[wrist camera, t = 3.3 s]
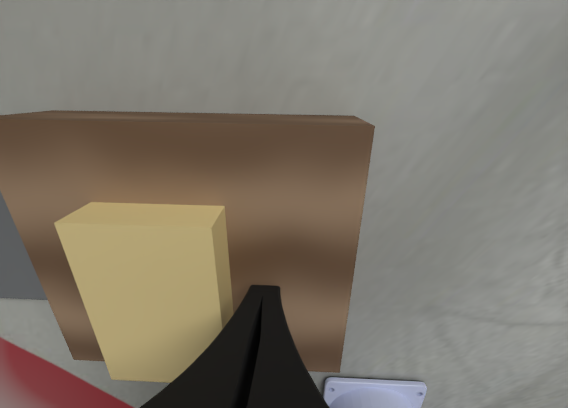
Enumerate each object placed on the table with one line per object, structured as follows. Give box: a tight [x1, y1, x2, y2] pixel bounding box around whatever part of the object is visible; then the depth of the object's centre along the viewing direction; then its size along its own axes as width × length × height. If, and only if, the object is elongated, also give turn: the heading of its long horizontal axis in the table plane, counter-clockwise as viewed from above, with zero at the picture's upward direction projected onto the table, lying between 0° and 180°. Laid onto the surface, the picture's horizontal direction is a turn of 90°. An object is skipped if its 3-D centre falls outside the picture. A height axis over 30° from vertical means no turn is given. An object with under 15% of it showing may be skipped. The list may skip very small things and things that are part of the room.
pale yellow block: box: [54, 202, 233, 383], centre depth 13 cm, size 9×6×2 cm, turn 179°
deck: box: [0, 111, 375, 373], centre depth 15 cm, size 14×16×4 cm
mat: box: [0, 191, 48, 300], centre depth 17 cm, size 12×9×1 cm
